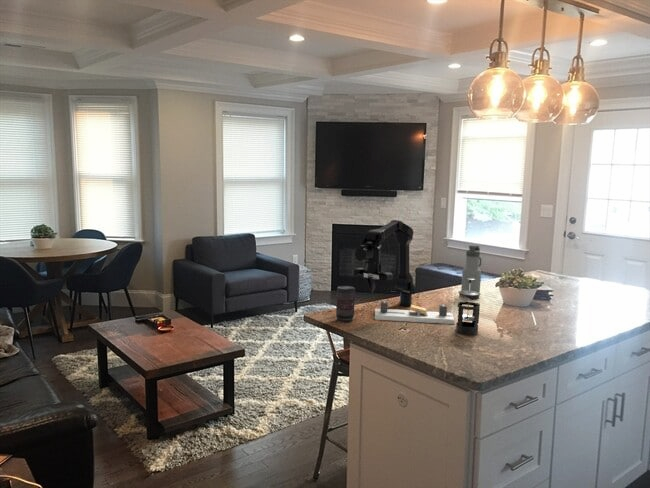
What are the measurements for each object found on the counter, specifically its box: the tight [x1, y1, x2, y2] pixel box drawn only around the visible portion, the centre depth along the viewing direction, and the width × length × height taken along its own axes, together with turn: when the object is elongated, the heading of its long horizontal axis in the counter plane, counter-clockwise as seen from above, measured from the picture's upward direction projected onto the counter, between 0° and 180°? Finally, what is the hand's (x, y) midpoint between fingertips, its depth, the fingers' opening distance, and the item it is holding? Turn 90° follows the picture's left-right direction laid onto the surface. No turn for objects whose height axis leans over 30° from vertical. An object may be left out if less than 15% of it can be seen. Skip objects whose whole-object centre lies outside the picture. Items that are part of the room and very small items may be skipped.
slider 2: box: [438, 304, 448, 316], centre depth 247 cm, size 3×3×4 cm
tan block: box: [409, 304, 427, 314], centre depth 248 cm, size 5×7×2 cm
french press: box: [454, 278, 481, 336], centre depth 228 cm, size 12×9×23 cm
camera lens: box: [335, 285, 356, 324], centre depth 240 cm, size 8×8×15 cm
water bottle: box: [460, 244, 482, 299], centre depth 295 cm, size 10×10×28 cm
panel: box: [374, 308, 455, 325], centre depth 248 cm, size 12×35×4 cm, turn 84°
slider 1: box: [380, 301, 389, 312], centre depth 249 cm, size 3×3×4 cm
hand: (371, 292), depth 249 cm, fingers closed
